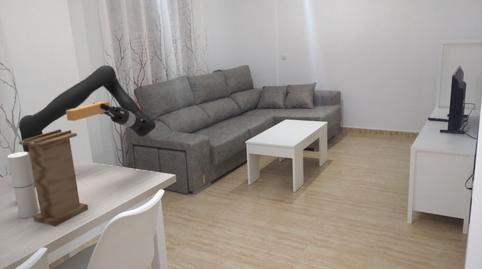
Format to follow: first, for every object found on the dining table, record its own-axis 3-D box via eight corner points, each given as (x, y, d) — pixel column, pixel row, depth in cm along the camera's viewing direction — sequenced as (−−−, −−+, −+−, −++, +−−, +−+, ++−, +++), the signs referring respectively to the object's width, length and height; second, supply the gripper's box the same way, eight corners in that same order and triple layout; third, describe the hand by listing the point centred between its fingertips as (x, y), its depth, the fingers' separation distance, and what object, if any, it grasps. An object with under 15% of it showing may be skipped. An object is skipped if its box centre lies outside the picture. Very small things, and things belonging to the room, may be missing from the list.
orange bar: (67, 120, 164) (65, 110, 163) (103, 110, 181) (102, 101, 180) (74, 120, 162) (72, 110, 161) (110, 110, 179) (109, 101, 178)
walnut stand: (34, 221, 158) (18, 139, 150) (67, 204, 172) (54, 128, 163) (55, 226, 153) (40, 141, 144) (88, 209, 167) (76, 130, 158)
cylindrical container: (25, 219, 160) (13, 158, 154) (15, 215, 164) (3, 156, 157) (42, 211, 166) (31, 153, 160) (32, 208, 170) (21, 151, 163)
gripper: (113, 108, 194) (87, 96, 179) (137, 110, 187) (111, 97, 172) (109, 123, 192) (82, 112, 177) (133, 125, 186) (107, 114, 171)
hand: (97, 105), depth 175 cm, fingers closed on orange bar, 4 cm apart
